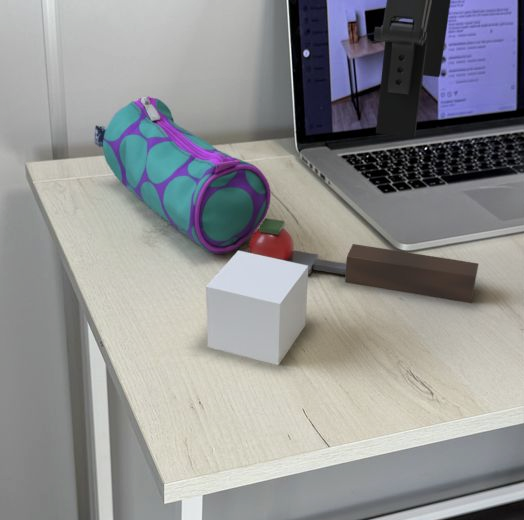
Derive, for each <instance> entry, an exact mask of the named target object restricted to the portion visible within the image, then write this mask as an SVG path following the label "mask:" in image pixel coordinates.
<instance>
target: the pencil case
mask: <svg viewBox="0 0 524 520" xmlns="http://www.w3.org/2000/svg"><path fill="white" fill-rule="evenodd" d="M93 141H94V145H96V146H97V147H99V148H102V150H103V155H104V159H105V162H106V164H107V165H108V167H109V168H110V170H111V171H112V173H113V174H114V176H115V177H116V178H117V180H118V181H119V182H120V183H121V184H122V185H123V186H125V188H126V189H127V190H129V192H131V193H132V194H133V195H135V197H137V198H138V199H139V200H141V202H143V203H144V204H145V205H146V206H148V207H149V208H150V209H151V210H152V211H153V212H154V213H156V214H157V215H158V216H159V217H160V218H162V219H163V220H165V221H166V222H168V223H169V224H170V225H171V226H172V227H174V228H176V229H177V230H179V231H180V232H181V233H182V234H183V235H184V236H186V237H188V238H190V239H191V241H192V242H194V243H195V244H198V245H199V246H200V247H201V248H202V249H204V250H205V251H206V252H209V253H212V254H218V255H225V254H228V253H231V252H233V251H235V250H237V249H238V248H240V247H241V246H242V245H243V244H244V243H245V242H246V241H247V240H248V239H249V238H250V237H252V236H253V234H254V233H255V232H256V231H257V230H258V229H259V227H260V225H261V224H262V222H263V221H264V219H265V217H266V215H267V214H268V211H269V208H270V204H271V186H270V183H269V181H268V179H267V178H266V176H265V174H264V173H263V172H262V171H261V170H260V169H259V168H258V167H257V166H256V165H254V164H252V163H250V162H247V161H245V160H242V159H240V158H237V157H232V156H231V155H229V153H227V152H223V151H221V150H218V149H217V148H216V147H214V146H213V145H212V144H211V143H209V142H207V141H206V140H205V139H203V138H201V137H199V136H196V135H195V134H194V133H192V132H190V131H189V130H187V129H185V128H183V127H181V126H180V125H178V124H176V123H175V121H174V117H173V115H172V112H171V109H170V108H169V106H168V105H167V104H165V102H163V101H162V100H161V99H159V98H157V97H150V96H146V95H144V96H143V97H142V98H138V100H135V101H134V100H132V101H131V102H129V103H128V104H127V105H124V106H123V107H122V108H120V109H119V110H117V111H116V112H115V114H114V115H113V116H112V118H111V119H110V121H109V123H108V125H107V127H106V126H104V125H101V126H100V125H95V127H94V140H93Z"/></svg>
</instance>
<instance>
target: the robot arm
mask: <svg viewBox="0 0 524 520" xmlns="http://www.w3.org/2000/svg"><path fill="white" fill-rule="evenodd" d="M451 1H452V0H386V4H385V9H384V15H383V22H382V25H381V26H374V32H373V40H374V41H375V42H383V43H384V47H383V49H384V50H383V59H382V67H381V79H380V88H379V96H378V97H379V98H378V108H377V117H376V125H375V126H376V128H375V134H378V135H387V136H393V137H402V138H408V139H409V138H410V139H414V138H415V136H416V132H417V125H418V118H419V117H418V116H419V110H420V101H421V93H422V86H423V80H424V79H423V78H424V76H425V77H433V78H440V76H441V72H442V65H443V57H444V51H445V44H446V37H447V28H448V21H449V15H450V8H451ZM404 20H412V21H404Z"/></svg>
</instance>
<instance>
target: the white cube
mask: <svg viewBox="0 0 524 520" xmlns="http://www.w3.org/2000/svg"><path fill="white" fill-rule="evenodd" d="M308 280H309V274H308V266H307V265H302V264H298V263H293V262H289V261H284V260H280V259H275V258H270V257H266V256H261V255H257V254H252V253H248V251H243V250H237V251H236V253H234V255H233V256H232V257H231V258H230V259H229V260H228V261H227V262H226V263H225V264H224V265H223V266H222V268H220V270H219V271H218V272H217V273H216V274H215V276H214V277H213V278H212V279H211V280H210V281H209V283H208V284H207V285H205V298H206V299H205V300H206V301H205V302H206V330H207V331H206V332H207V334H206V335H207V348H209V349H214V350H217V351H221V352H225V353H228V354H233V355H236V356H240V357H245V358H249V359H252V360H256V361H259V362H260V361H261V362H264V363H268V364H272V365H276V366H279V365H280V363H281V362H282V361H283V359H284V357H285V356H286V355H287V354H288V352H289V350H290V349H291V348H292V346H293V344H294V343H295V342H296V340H297V338H298V337H299V335H300V334H301V333H302V331H303V329H304V328H305V327H306V322H307V303H308V302H307V301H308V284H309V283H308V282H309V281H308Z"/></svg>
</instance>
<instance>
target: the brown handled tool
mask: <svg viewBox="0 0 524 520" xmlns="http://www.w3.org/2000/svg"><path fill="white" fill-rule="evenodd" d="M284 227H285V221H284V220H279V219H274V218H273V219H272V218H265V217H264V219H263V221H262V222H261V224H260V225H259V226H258V228H257V229H256V230H255V231H254V232H253V234H252V235H251V236H250V237H251V238H250V239H249V245H248V251H247V252H248V253H252V254H257V255H261V256H266V257H270V258H275V259H280V260H284V261H289V262H293V263H298V264H302V265H307V266H308V275H310V274H311V273H312V271H313V270H314V271H319V272H327V273H333V274H339V275H345V276H344V283H347V284H353V285H359V286H364V287H371V288H376V289H383V290H387V291H393V292H400V293H406V294H413V295H417V296H424V297H431V298H436V299H443V300H449V301H454V302H461V303H466V304H472V301H473V298H474V297H473V296H474V292H475V287H476V281H477V274H478V269H479V263H478V262H471V261H465V260H459V259H452V258H446V257H440V256H434V255H427V254H422V253H421V254H420V253H414V252H407V251H401V250H394V249H389V248H383V247H376V246H370V245H369V246H368V245H363V244H355V243H352V245H351V247H350V249H349V251H348V253H347V256H346V262H337V261H332V260H325V259H320V258H319V255H318V254H317V253H311V252H305V251H300V250H299V251H298V250H295V247H294V240H293V238H292V236H291V234H290V233H289V232H288V231H287V230H286V229H285V228H284ZM318 258H319V259H318Z"/></svg>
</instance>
